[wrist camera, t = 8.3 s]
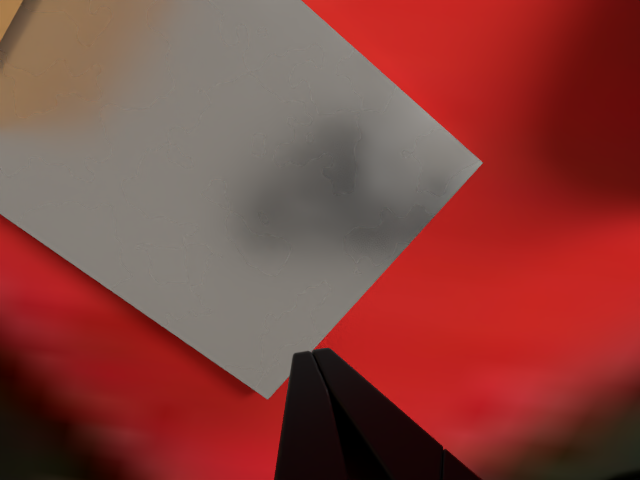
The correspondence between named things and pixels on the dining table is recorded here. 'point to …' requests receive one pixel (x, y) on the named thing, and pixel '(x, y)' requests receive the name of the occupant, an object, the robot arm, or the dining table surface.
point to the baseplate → (216, 166)
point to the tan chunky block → (7, 14)
